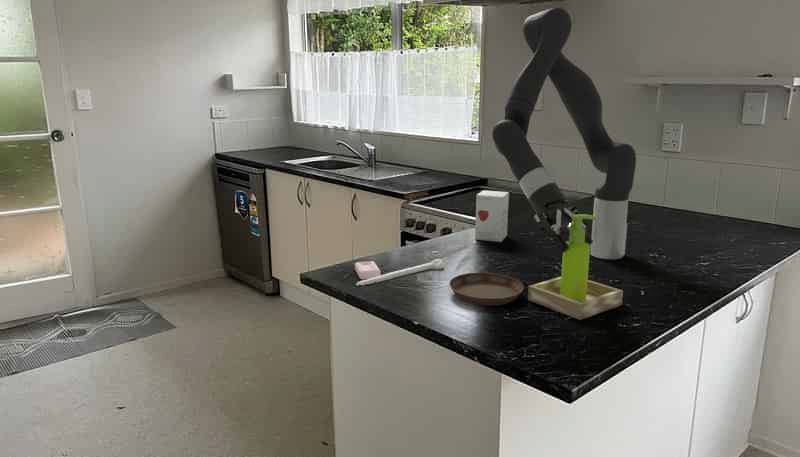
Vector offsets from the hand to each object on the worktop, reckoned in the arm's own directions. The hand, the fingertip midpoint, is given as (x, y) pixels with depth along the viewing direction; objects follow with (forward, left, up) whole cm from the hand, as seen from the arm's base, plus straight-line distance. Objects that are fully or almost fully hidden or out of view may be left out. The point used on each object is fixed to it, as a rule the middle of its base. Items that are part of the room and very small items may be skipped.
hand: (578, 247), depth 136 cm
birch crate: (0, 0, -13) cm, 13 cm away
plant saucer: (+13, -16, -14) cm, 25 cm away
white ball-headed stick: (+21, -39, -14) cm, 47 cm away
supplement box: (-26, -54, -13) cm, 61 cm away
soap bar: (+27, -47, -14) cm, 56 cm away
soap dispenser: (0, 0, -13) cm, 13 cm away
